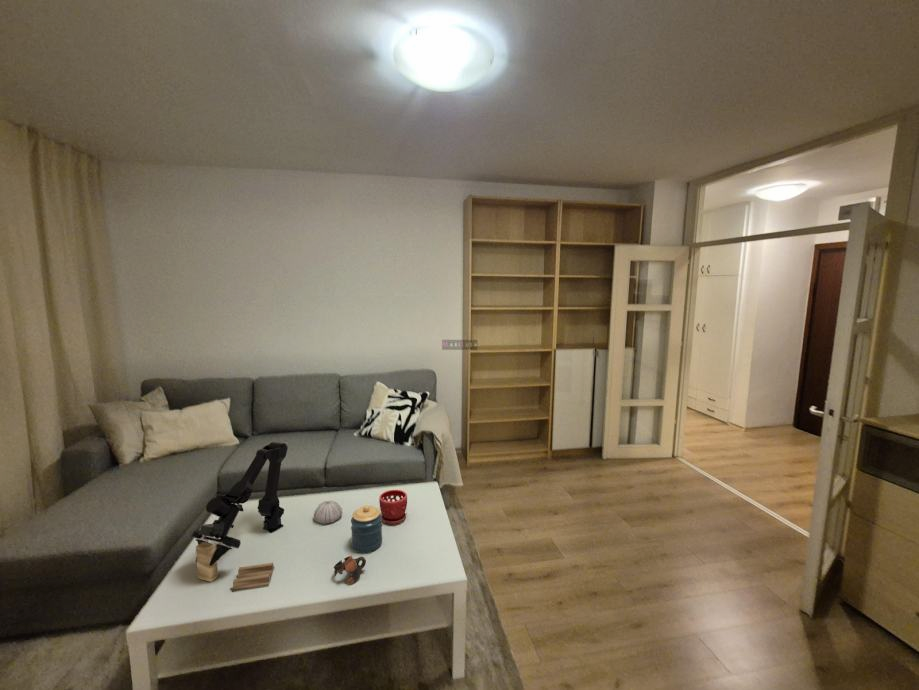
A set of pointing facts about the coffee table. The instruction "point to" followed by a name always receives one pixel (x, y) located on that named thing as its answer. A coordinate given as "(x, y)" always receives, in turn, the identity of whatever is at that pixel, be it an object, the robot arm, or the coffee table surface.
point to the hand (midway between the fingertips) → (203, 563)
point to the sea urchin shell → (327, 512)
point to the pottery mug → (350, 568)
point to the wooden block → (206, 561)
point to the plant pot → (393, 506)
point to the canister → (366, 529)
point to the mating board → (253, 577)
